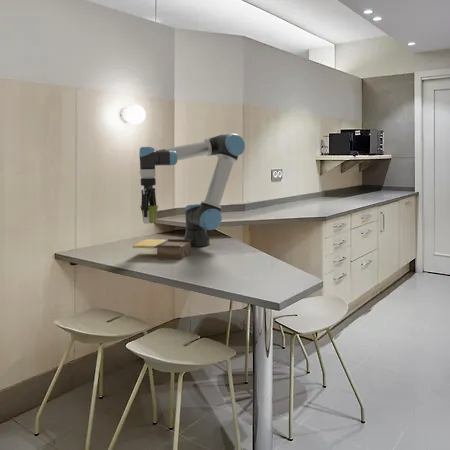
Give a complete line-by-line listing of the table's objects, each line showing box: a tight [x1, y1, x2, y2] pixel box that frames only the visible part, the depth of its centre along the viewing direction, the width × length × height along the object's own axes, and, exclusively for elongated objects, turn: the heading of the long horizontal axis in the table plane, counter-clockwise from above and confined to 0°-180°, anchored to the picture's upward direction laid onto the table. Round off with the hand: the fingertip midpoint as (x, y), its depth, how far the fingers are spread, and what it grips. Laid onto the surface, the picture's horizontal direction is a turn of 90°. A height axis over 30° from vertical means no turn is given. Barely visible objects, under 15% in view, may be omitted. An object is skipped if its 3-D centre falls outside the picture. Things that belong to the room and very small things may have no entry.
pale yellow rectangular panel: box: [132, 238, 168, 249], centre depth 257 cm, size 19×1×12 cm
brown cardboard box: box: [156, 238, 192, 261], centre depth 254 cm, size 18×12×7 cm, turn 168°
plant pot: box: [139, 204, 159, 224], centre depth 255 cm, size 9×9×9 cm
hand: (149, 222), depth 255 cm, fingers closed on plant pot, 8 cm apart
